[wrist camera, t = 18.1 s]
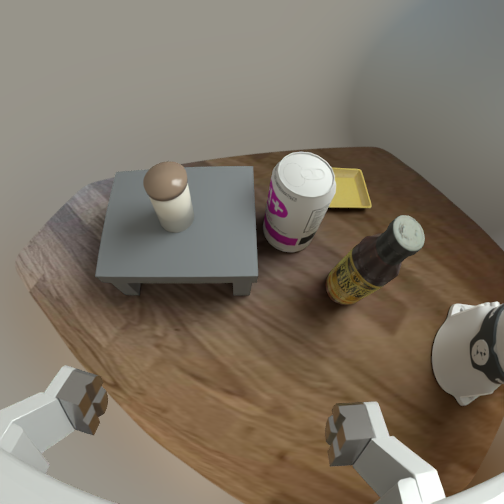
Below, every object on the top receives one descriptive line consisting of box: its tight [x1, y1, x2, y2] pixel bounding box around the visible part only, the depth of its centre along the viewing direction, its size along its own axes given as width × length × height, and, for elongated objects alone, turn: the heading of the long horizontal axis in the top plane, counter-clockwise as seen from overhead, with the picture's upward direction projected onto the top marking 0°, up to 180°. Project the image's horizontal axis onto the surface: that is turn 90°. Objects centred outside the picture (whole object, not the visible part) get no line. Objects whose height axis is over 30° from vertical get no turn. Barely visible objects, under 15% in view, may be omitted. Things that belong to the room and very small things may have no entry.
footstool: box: [95, 166, 258, 295], centre depth 42 cm, size 20×16×10 cm
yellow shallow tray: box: [328, 168, 371, 208], centre depth 52 cm, size 9×9×2 cm
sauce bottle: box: [326, 215, 425, 305], centre depth 36 cm, size 7×6×20 cm
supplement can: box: [263, 152, 336, 252], centre depth 42 cm, size 8×8×15 cm
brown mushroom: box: [143, 162, 194, 233], centre depth 33 cm, size 5×5×8 cm
